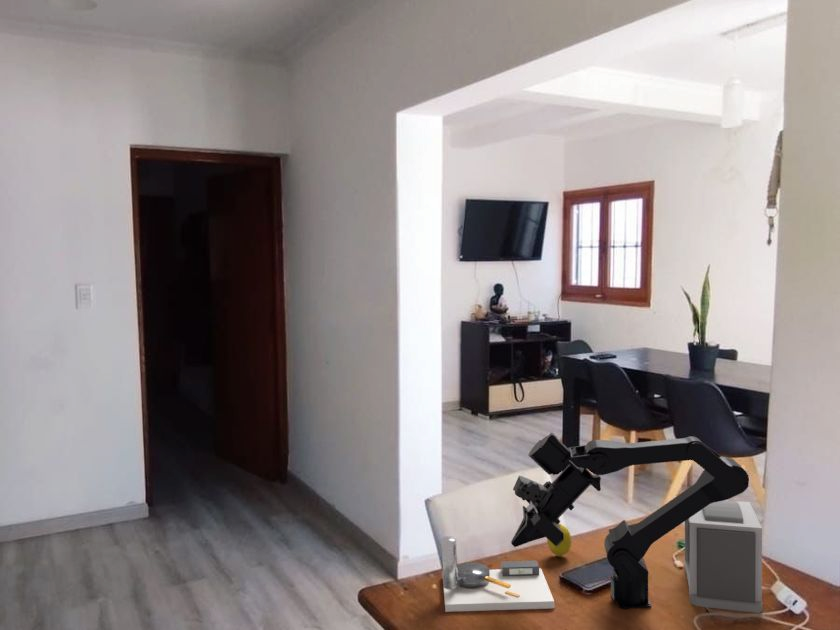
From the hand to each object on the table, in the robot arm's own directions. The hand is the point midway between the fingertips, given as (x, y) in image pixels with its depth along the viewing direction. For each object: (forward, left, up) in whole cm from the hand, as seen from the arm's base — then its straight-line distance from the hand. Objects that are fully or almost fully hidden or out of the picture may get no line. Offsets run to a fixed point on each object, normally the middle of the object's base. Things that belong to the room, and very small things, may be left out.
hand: (512, 544), depth 140 cm
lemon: (-14, -20, -12) cm, 27 cm away
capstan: (+8, -3, -10) cm, 13 cm away
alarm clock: (-44, -3, -12) cm, 46 cm away
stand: (+3, -4, -12) cm, 13 cm away
